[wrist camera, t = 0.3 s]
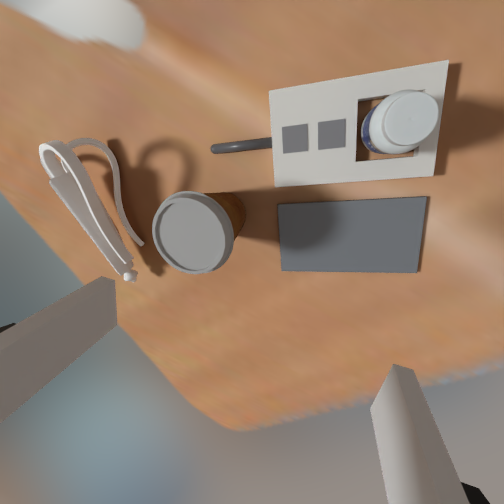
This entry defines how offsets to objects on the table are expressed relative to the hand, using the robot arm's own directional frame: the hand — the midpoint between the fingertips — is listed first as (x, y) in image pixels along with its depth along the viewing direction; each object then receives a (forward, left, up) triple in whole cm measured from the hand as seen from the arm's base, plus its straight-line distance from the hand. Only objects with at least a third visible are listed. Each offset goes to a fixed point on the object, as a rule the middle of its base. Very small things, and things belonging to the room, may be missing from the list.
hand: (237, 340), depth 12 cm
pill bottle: (-10, +11, -27) cm, 31 cm away
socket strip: (-10, +3, -27) cm, 28 cm away
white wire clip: (-3, -28, -27) cm, 39 cm away
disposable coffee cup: (-1, -10, -27) cm, 29 cm away
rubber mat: (+3, +7, -27) cm, 28 cm away
